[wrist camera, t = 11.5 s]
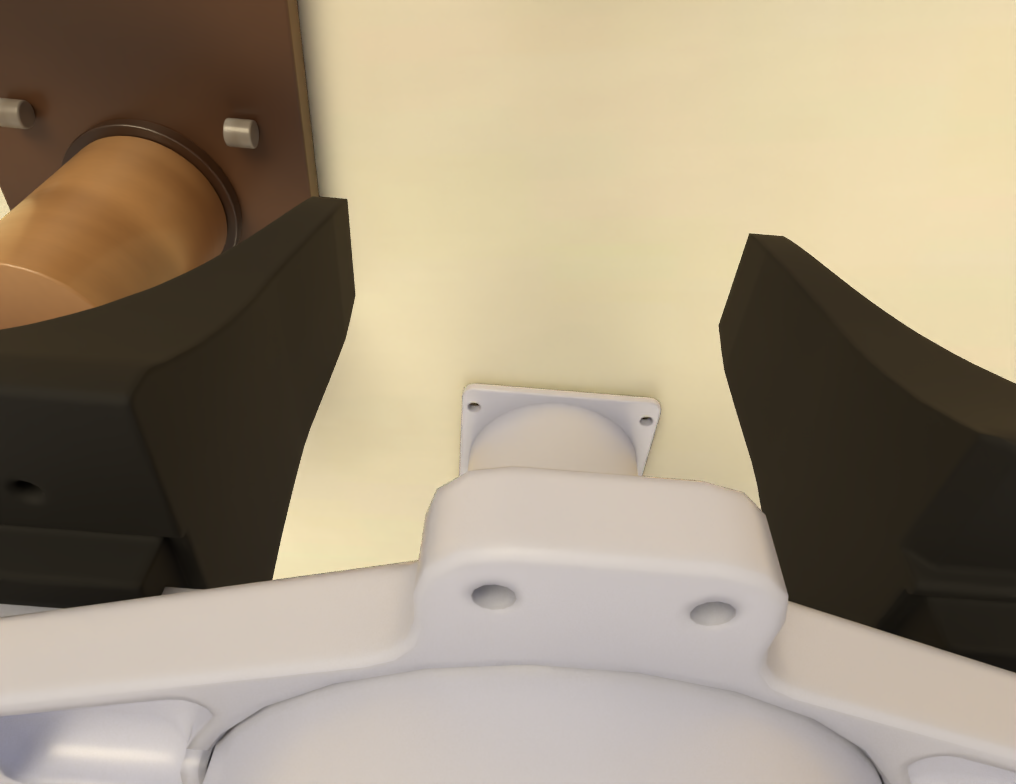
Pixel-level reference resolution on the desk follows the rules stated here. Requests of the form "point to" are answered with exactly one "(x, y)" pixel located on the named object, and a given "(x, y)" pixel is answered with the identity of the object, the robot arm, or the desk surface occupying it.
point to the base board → (161, 89)
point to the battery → (114, 222)
